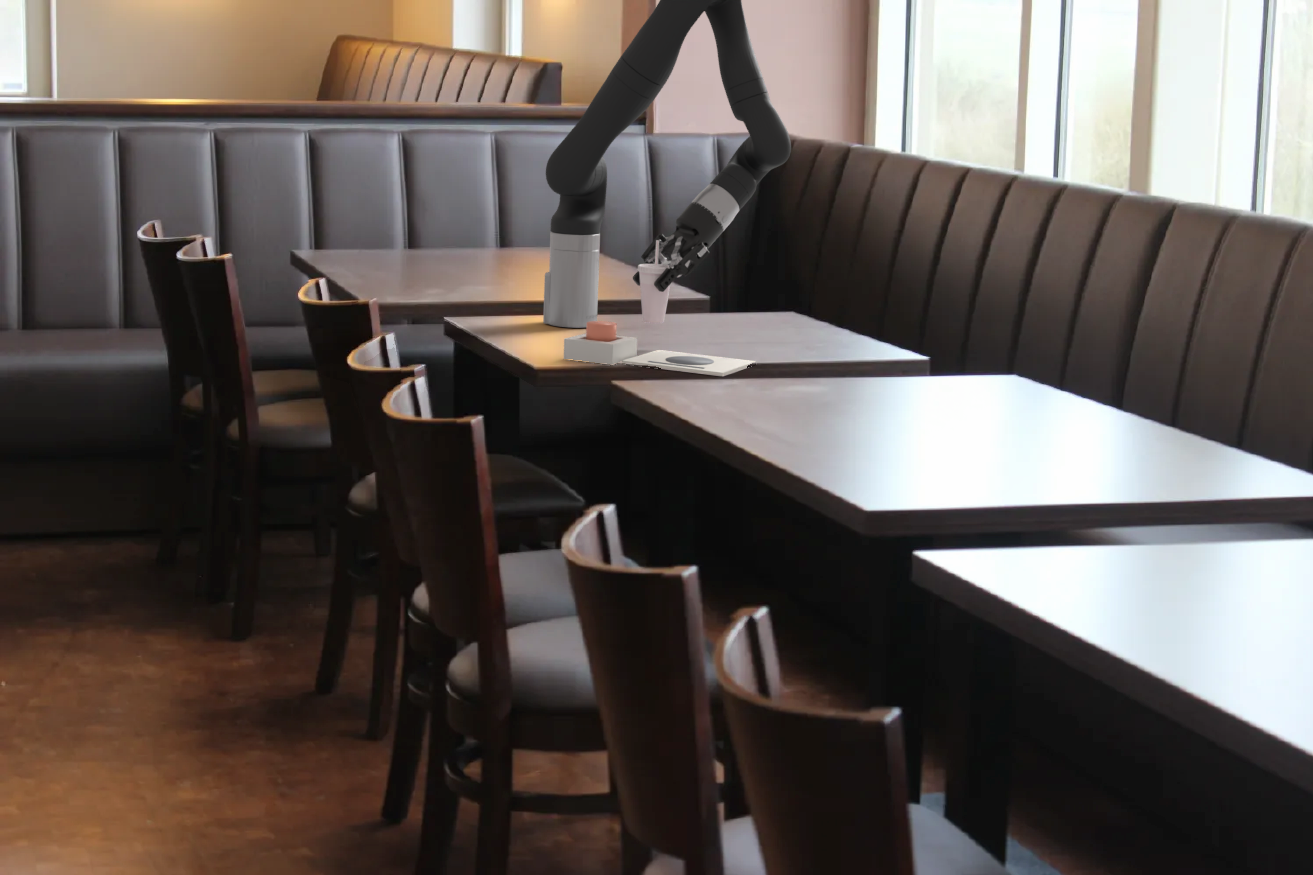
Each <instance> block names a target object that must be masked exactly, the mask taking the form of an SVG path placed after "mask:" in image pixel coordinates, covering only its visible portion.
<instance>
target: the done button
mask: <svg viewBox="0 0 1313 875" xmlns="http://www.w3.org/2000/svg"><path fill="white" fill-rule="evenodd" d="M617 324H618V323H617V322H613V321H606V320H597V321H590V322H587V326H586V327H585V328H586V329H585V330H586V331H585V333H586V339H587V340H595V341H604V342H611V341H614V340H616V335H617V326H618V325H617Z"/></svg>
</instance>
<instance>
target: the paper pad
mask: <svg viewBox="0 0 1313 875" xmlns="http://www.w3.org/2000/svg"><path fill="white" fill-rule="evenodd" d="M622 362H624V363H632V364H640V365H648V366H656V367H659V368H661V369H660V370H666V371H667V370H668V371H675V372H683V373H693V374H699V375H708V376H716V377H725V376H729V375H731V374H735V373H737V372H740V371H742V370H745V369H748V368H747V366H748V365H750V364H752V363H755V362H756V363H757V360H748V359H742V358H741V359H740V358H732V357H724V356H715V355H707V354H705V355H704V354H699V353H689V352H681V351H680V352H679V351H671V350H665V349H664V350H662V349H657V350H653V351H649V352H645V353H643V354H640V355H637V356H636V357H632V358H629V359H625V360H622Z"/></svg>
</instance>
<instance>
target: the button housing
mask: <svg viewBox="0 0 1313 875" xmlns="http://www.w3.org/2000/svg"><path fill="white" fill-rule="evenodd" d="M636 356H638V337H633V336H626V335H625V336H624V335H617V334H616V340H614V341H611V342H604V341H595V340H587V339H586V332H585V333H581V334H577V335H573V336H570V337H566V338H565V337H564V338H563V360H564V359H573V360H582V361H589V362H595V363H607V364H614V363H618V362H620V361H622V360H625V359H629V358H632V357H636Z"/></svg>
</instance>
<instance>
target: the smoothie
mask: <svg viewBox="0 0 1313 875" xmlns="http://www.w3.org/2000/svg"><path fill="white" fill-rule="evenodd" d="M658 257H659V240H656V253H655V264H644V263H640V264H638V265H637V272H638V271H639V275H640V286H639V288H640V302H641V314H642V322H643V323H646V324H647V323H648V324H663V323H665V319H666V318H665V317H666V312H667V307H668V302H669V301H668V300H669V294H670V290H671V284H670V285H669V286H668V287H667V288H666V289H665V291H664V292H661V291H659V290H658V289H657V288H656V287H655V285H654V282H655V281H656V280H657V279H658V277H659V276H660V275H661V274H662V273H663V272H664V271H665V269H666V268H669V265H670V264H668V265H663V264H658V261H659V259H658ZM669 269H670V268H669Z"/></svg>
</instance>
